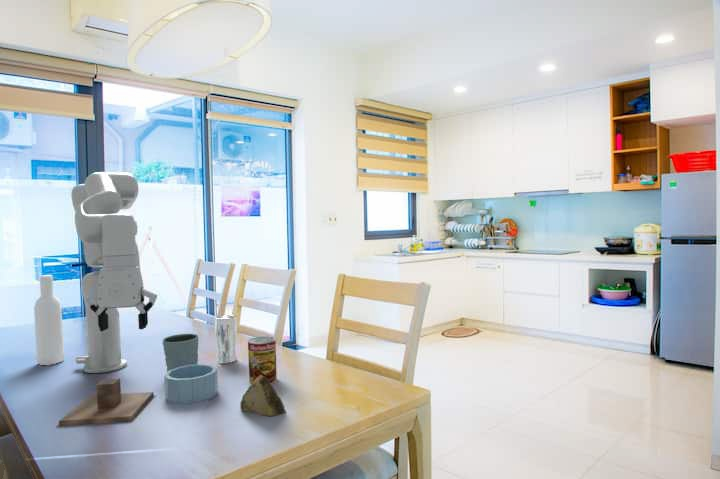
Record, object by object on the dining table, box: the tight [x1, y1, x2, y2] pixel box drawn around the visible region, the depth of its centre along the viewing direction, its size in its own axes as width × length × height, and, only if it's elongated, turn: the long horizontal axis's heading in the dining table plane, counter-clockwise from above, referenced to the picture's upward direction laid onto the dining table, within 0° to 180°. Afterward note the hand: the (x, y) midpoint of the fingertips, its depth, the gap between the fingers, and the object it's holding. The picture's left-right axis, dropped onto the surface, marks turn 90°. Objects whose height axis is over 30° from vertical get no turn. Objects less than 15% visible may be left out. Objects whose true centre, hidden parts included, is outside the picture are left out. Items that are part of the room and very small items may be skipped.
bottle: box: [33, 274, 65, 366], centre depth 163 cm, size 8×8×30 cm
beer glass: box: [214, 314, 238, 365], centre depth 160 cm, size 7×7×15 cm
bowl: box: [164, 363, 219, 404], centre depth 129 cm, size 13×13×6 cm
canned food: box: [247, 336, 278, 385], centre depth 140 cm, size 8×8×12 cm
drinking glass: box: [162, 333, 199, 373], centre depth 145 cm, size 10×10×12 cm
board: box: [55, 395, 156, 428], centre depth 119 cm, size 17×17×1 cm
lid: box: [58, 377, 155, 426], centre depth 119 cm, size 16×16×7 cm
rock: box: [240, 375, 287, 417], centre depth 117 cm, size 11×9×10 cm
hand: (123, 329), depth 122 cm, fingers open, 9 cm apart
